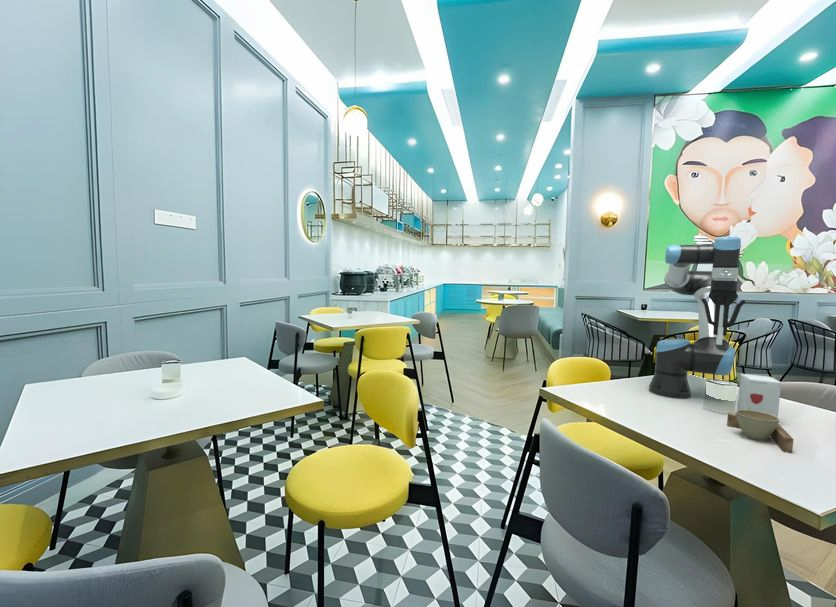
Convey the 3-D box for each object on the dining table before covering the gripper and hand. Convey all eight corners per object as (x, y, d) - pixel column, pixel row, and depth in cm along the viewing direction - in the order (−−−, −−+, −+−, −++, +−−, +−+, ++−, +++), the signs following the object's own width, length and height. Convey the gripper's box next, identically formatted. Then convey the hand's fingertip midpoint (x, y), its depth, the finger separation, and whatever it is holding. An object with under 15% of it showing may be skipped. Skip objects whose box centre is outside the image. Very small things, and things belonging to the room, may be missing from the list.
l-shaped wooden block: (737, 442, 115) (738, 429, 115) (727, 424, 131) (727, 412, 131) (792, 453, 109) (793, 439, 109) (774, 432, 125) (775, 420, 125)
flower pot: (736, 428, 127) (738, 407, 127) (778, 438, 120) (780, 415, 120) (732, 436, 120) (733, 414, 120) (775, 447, 113) (777, 423, 113)
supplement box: (744, 420, 135) (747, 378, 134) (736, 413, 143) (739, 373, 142) (778, 425, 131) (782, 382, 130) (768, 417, 139) (771, 376, 138)
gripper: (703, 279, 141) (698, 343, 143) (749, 280, 135) (743, 347, 137) (701, 279, 148) (696, 340, 150) (745, 280, 141) (739, 344, 143)
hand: (718, 344), depth 143 cm, fingers closed
